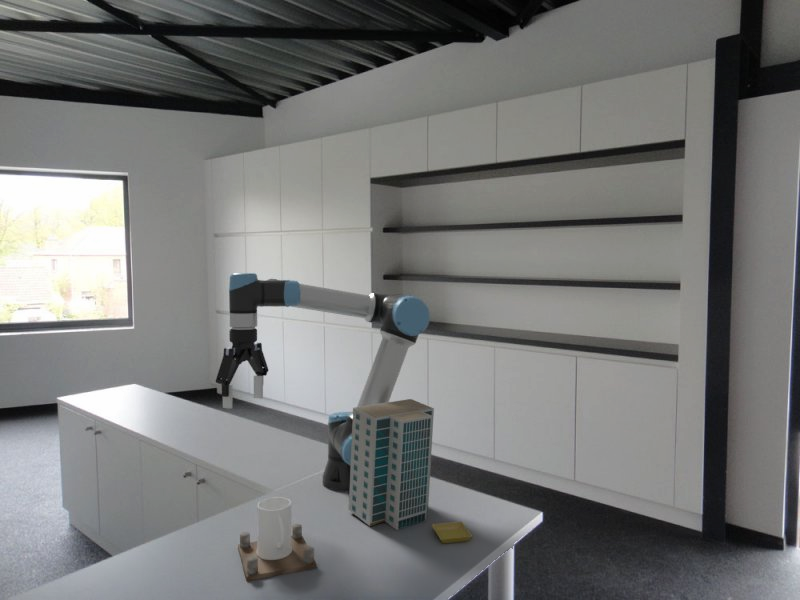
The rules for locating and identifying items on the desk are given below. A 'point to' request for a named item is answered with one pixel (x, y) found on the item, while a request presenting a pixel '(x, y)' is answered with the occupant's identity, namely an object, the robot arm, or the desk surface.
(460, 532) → the yellow square slab
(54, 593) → the desk surface
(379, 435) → the building model
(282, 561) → the board with corner pegs
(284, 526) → the mug
